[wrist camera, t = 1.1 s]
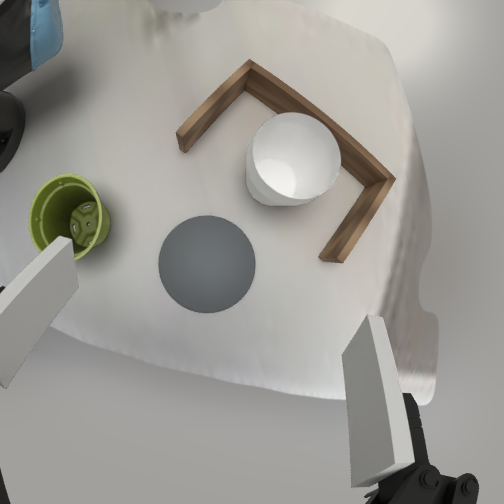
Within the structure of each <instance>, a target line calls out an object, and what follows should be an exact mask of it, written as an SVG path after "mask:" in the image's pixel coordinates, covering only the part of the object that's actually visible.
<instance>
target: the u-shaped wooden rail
mask: <svg viewBox="0 0 504 504" xmlns="http://www.w3.org/2000/svg"><path fill="white" fill-rule="evenodd" d="M244 90H245V91H247V92H248V93H250V94H251V95H253V96H254V97H256V98H257V99H258V100H260V101H261V102H263V103H264V104H265V105H267V106H268V107H269V108H271V109H272V110H274V111H275V112H276V113H278V114H282V113H289V112H294V113H301V114H305V115H308V116H311V117H313V118H315V119H317V120H318V121H320V122H321V123H322V124H323V125H325V126H326V127H327V128H328V129H329V131H330V132H331V133H332V135H333V136H334V138H335V140H336V142H337V144H338V147H339V150H340V155H341V165H342V166H343V167H344V168H345V169H346V170H347V171H348V172H349V173H351V174H352V175H353V176H354V177H355V178H356V179H357V180H358V181H359V182H360V183H362V184H363V185H364V186H365V189H364V190H363V192H362V193H361V195H360V196H359V198H358V199H357V201H356V202H355V204H354V205H353V207H352V208H351V210H350V211H349V213H348V214H347V216H346V217H345V219H344V220H343V222H342V223H341V225H340V226H339V228H338V229H337V231H336V232H335V233H334V235H333V236H332V238H331V239H330V241H329V242H328V244H327V245H326V246H325V248H324V249H323V251H322V252H321V254H320V255H319V256H318V257H319V258H320V259H321V260H323V261H325V262H334V263H343V262H344V261H345V260H346V258H347V257H348V255H349V254H350V252H351V251H352V249H353V247H354V246H355V244H356V243H357V241H358V240H359V238H360V237H361V235H362V234H363V232H364V231H365V229H366V227H367V226H368V224H369V223H370V221H371V219H372V218H373V216H374V215H375V213H376V211H377V210H378V208H379V207H380V205H381V203H382V202H383V200H384V198H385V197H386V195H387V193H388V192H389V190H390V188H391V187H392V185H393V183H394V182H395V180H396V178H395V177H394V176H393V175H392V174H391V173H390V172H389V171H388V170H387V169H386V168H385V167H384V166H383V165H382V164H381V163H380V162H379V161H378V160H377V159H376V158H375V157H374V156H373V155H372V154H371V153H370V152H368V151H367V150H366V149H365V148H364V147H363V146H362V145H361V144H360V143H359V142H358V141H356V140H355V139H354V138H353V137H352V136H351V135H350V134H348V133H347V132H346V131H345V130H344V129H343V128H342V127H340V126H339V125H338V124H337V123H336V122H334V121H333V120H332V119H331V118H330V117H328V116H327V115H326V114H325V113H324V112H322V111H321V110H320V109H319V108H317V107H316V106H315V105H313V104H312V103H311V102H310V101H308V100H307V99H306V98H304V97H303V96H302V95H300V94H299V93H298V92H296V91H295V90H294V89H292V88H291V87H290V86H288V85H287V84H285V83H284V82H283V81H281V80H280V79H278V78H277V77H276V76H274V75H273V74H271V73H270V72H268V71H267V70H265V69H264V68H262V67H261V66H259V65H258V64H256V63H255V62H253V61H252V60H250V59H249V60H248V61H247V62H245V63H244V64H243V65H242V66H241V67H240V68H239V69H238V70H237V71H236V72H234V73H233V74H232V75H231V76H230V77H229V78H228V79H227V80H226V81H225V82H224V83H223V84H222V85H221V86H220V87H219V88H218V89H217V90H216V91H215V92H214V93H213V94H212V95H211V96H210V97H209V98H208V99H207V100H206V101H205V102H204V103H203V104H202V105H201V106H200V107H199V108H198V109H197V110H196V111H195V112H194V113H193V114H192V115H191V116H190V117H189V118H188V119H187V120H186V121H185V122H184V124H183V125H182V126H181V127H180V128H179V129H178V130H177V131H176V136H177V140H178V144H179V148H180V150H182V151H183V152H184V153H186V152H187V151H188V150H189V149H190V148H191V146H192V145H193V144H194V143H195V142H196V141H197V140H198V138H199V137H200V136H201V135H202V134H203V133H204V132H205V131H206V130H207V128H208V127H209V126H210V125H211V124H212V123H213V122H214V121H215V120H216V119H217V118H218V117H219V116H220V114H221V113H222V112H223V111H224V110H225V109H226V108H227V107H228V106H229V105H230V104H231V103H232V102H233V101H234V100H235V99H236V98H237V97H238V96H239V95H240V94H241V93H242V92H243V91H244Z"/></svg>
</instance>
